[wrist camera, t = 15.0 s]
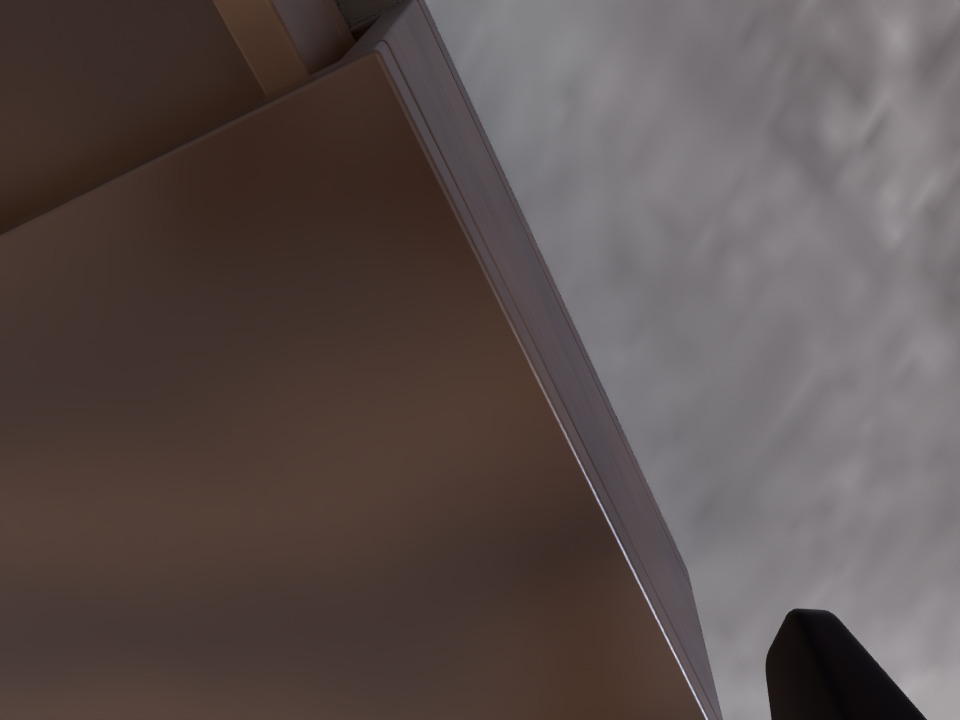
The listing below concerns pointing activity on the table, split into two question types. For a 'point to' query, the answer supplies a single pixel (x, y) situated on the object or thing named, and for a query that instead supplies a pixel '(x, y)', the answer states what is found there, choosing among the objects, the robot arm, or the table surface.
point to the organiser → (321, 434)
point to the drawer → (138, 80)
